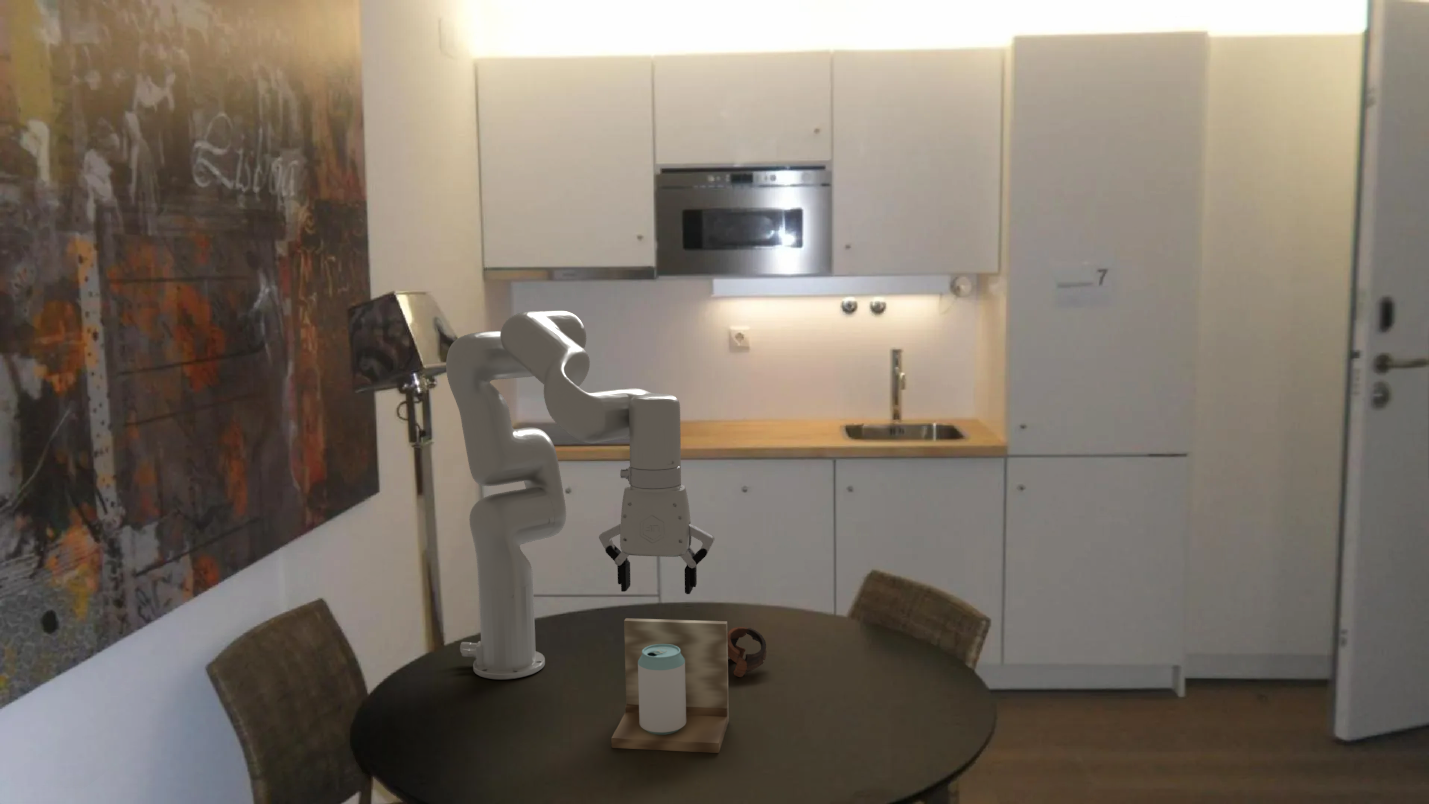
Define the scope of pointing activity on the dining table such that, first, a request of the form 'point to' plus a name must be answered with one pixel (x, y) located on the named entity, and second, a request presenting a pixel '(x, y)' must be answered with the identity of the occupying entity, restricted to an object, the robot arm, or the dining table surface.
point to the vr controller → (738, 652)
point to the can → (662, 689)
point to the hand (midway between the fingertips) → (657, 590)
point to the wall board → (702, 680)
